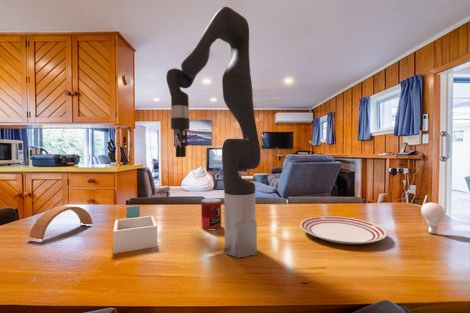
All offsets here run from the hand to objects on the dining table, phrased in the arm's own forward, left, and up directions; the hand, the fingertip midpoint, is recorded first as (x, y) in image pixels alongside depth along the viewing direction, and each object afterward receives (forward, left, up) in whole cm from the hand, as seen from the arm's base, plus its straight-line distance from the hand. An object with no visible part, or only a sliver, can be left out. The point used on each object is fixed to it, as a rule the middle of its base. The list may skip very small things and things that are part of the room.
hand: (180, 157), depth 97 cm
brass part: (-12, +21, -27) cm, 36 cm away
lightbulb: (-52, -77, -28) cm, 97 cm away
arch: (+10, +42, -28) cm, 52 cm away
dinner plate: (-38, -48, -29) cm, 68 cm away
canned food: (-9, -10, -28) cm, 31 cm away
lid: (+4, +18, -28) cm, 34 cm away
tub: (-15, +18, -28) cm, 37 cm away
